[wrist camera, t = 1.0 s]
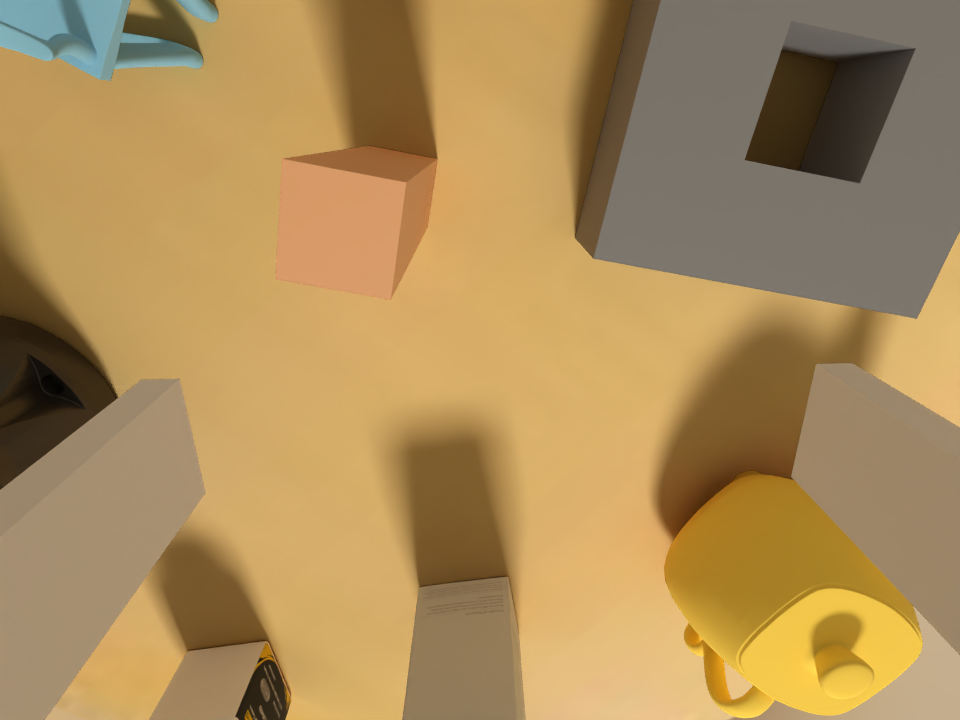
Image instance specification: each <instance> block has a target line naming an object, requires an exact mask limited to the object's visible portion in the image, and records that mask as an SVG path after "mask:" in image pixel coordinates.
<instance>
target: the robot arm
mask: <svg viewBox="0 0 960 720" xmlns="http://www.w3.org/2000/svg"><path fill="white" fill-rule="evenodd" d="M791 477H792V478H793V479H794V480H795V481H796V482H797V483H798V484H799V486H800V487H801V488H802V489H803V490H804V491H805V492H806V493H807V494H808V495H809V496H810V497H811V498H812V499H813V500H814V501H815V502H816V504H817V505H818V506H819V507H820V508H821V509H822V510H823V511H824V512H825V513H826V514H827V515H828V516H829V517H830V518H831V519H832V520H833V521H834V523H835V524H836V525H837V526H838V527H839V528H840V529H841V530H842V531H843V532H844V533H845V534H846V535H847V536H848V537H849V538H850V539H851V541H852V542H853V543H854V544H855V545H856V546H857V547H858V548H859V549H860V550H861V551H862V552H863V553H864V554H865V555H866V556H867V557H868V559H869V560H870V561H871V562H872V563H873V564H874V565H875V566H876V567H877V568H878V569H879V570H880V571H881V572H882V573H883V574H884V575H885V576H886V578H887V579H888V580H889V581H890V582H891V583H892V584H893V585H894V586H895V587H896V588H897V589H898V590H899V591H900V592H901V593H902V594H903V596H904V597H905V598H906V599H907V600H908V601H909V602H910V603H911V604H912V605H913V606H914V607H915V608H916V609H917V610H918V611H919V612H920V614H922V616H923V617H924V618H925V619H926V620H927V621H928V622H929V623H930V624H931V625H932V626H933V627H934V628H935V629H936V630H937V631H938V633H939V634H940V635H941V636H942V637H943V638H944V639H945V640H946V641H947V642H948V643H949V644H950V645H951V646H952V647H953V648H954V649H955V650H956V652H957V653H958V654H959V655H960V427H958V426H956V425H955V424H953V423H951V422H950V421H948V420H946V419H945V418H943V417H941V416H940V415H938V414H936V413H935V412H933V411H931V410H930V409H928V408H926V407H925V406H923V405H921V404H920V403H918V402H916V401H915V400H913V399H911V398H910V397H908V396H906V395H905V394H903V393H901V392H900V391H898V390H896V389H895V388H893V387H891V386H890V385H888V384H886V383H885V382H883V381H881V380H880V379H878V378H876V377H875V376H873V375H871V374H870V373H868V372H866V371H865V370H863V369H861V368H860V367H858V366H856V365H855V364H853V363H834V364H816V366H815V371H814V375H813V380H812V385H811V389H810V394H809V398H808V403H807V407H806V412H805V416H804V421H803V425H802V430H801V434H800V439H799V443H798V448H797V452H796V457H795V461H794V466H793V470H792V475H791ZM204 494H205V488H204V484H203V480H202V475H201V471H200V466H199V462H198V458H197V453H196V449H195V445H194V440H193V436H192V431H191V427H190V423H189V418H188V414H187V409H186V405H185V401H184V396H183V392H182V388H181V383H180V379H153V380H141V381H139V382H138V383H137V384H135V385H134V386H133V387H132V388H130V389H129V390H128V391H126V392H125V393H124V394H123V395H121V396H120V397H119V398H117V399H116V398H115V396H114V394H113V392H112V391H111V389H110V387H109V386H108V384H107V383H106V381H105V380H104V379H103V377H102V376H101V375H100V374H99V372H98V371H97V370H96V369H95V368H94V367H93V366H92V365H91V364H90V363H89V362H88V361H87V360H86V359H85V358H84V357H83V356H82V355H81V354H80V353H78V352H77V351H76V350H75V349H73V348H72V347H71V346H69V345H68V344H66V343H65V342H64V341H62V340H60V339H59V338H57V337H55V336H54V335H52V334H50V333H48V332H46V331H44V330H42V329H40V328H38V327H35V326H33V325H30V324H28V323H25V322H22V321H19V320H15V319H11V318H7V317H2V316H0V720H45V719H46V718H47V716H48V715H49V713H50V712H51V711H52V709H53V708H54V706H55V705H56V704H57V702H58V701H59V699H60V698H61V696H62V695H63V694H64V692H65V691H66V689H67V688H68V687H69V685H70V684H71V682H72V681H73V679H74V678H75V677H76V675H77V674H78V672H79V671H80V670H81V668H82V667H83V665H84V664H85V663H86V661H87V660H88V658H89V657H90V655H91V654H92V653H93V651H94V650H95V648H96V647H97V646H98V644H99V643H100V641H101V640H102V638H103V637H104V636H105V634H106V633H107V631H108V630H109V629H110V627H111V626H112V624H113V623H114V622H115V620H116V619H117V617H118V616H119V614H120V613H121V612H122V610H123V609H124V607H125V606H126V605H127V603H128V602H129V600H130V599H131V597H132V596H133V595H134V593H135V592H136V590H137V589H138V588H139V586H140V585H141V583H142V582H143V581H144V579H145V578H146V576H147V575H148V573H149V572H150V571H151V569H152V568H153V566H154V565H155V564H156V562H157V561H158V559H159V558H160V556H161V555H162V554H163V552H164V551H165V549H166V548H167V547H168V545H169V544H170V542H171V541H172V540H173V538H174V537H175V535H176V534H177V532H178V531H179V530H180V528H181V527H182V525H183V524H184V523H185V521H186V520H187V518H188V517H189V515H190V514H191V513H192V511H193V510H194V508H195V507H196V506H197V504H198V503H199V501H200V500H201V499H202V497H203V496H204Z"/></svg>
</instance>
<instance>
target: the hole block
mask: <svg viewBox="0 0 960 720" xmlns="http://www.w3.org/2000/svg"><path fill="white" fill-rule="evenodd" d="M781 50H783V51H788V52H792V53H797V54H801V55H806V56H811V57H815V58H820V59H824V60H829V61H833V62H838V66H837V69H836V71H835V74H834V77H833V79H832V82H831V85H830V87H829V90H828V93H827V96H826V98H825V101H824V104H823V106H822V109H821V112H820V114H819V117H818V120H817V122H816V125H815V128H814V130H813V133H812V136H811V139H810V141H809V144H808V147H807V149H806V152H805V155H804V157H803V160H802V163H801V165H800V168H799V171H796V170H791V169H786V168H781V167H776V166H771V165H766V164H761V163H756V162H752V161H747V160H745V157H746V154H747V151H748V148H749V145H750V142H751V139H752V136H753V133H754V130H755V127H756V124H757V121H758V118H759V116H760V113H761V110H762V107H763V104H764V101H765V98H766V95H767V92H768V89H769V86H770V83H771V80H772V77H773V74H774V71H775V68H776V65H777V62H778V59H779V56H780V53H781ZM959 232H960V0H633V4H632V8H631V12H630V16H629V20H628V24H627V28H626V32H625V36H624V40H623V44H622V48H621V53H620V57H619V61H618V65H617V69H616V73H615V77H614V81H613V85H612V89H611V93H610V97H609V102H608V106H607V110H606V114H605V118H604V122H603V126H602V130H601V134H600V138H599V142H598V146H597V150H596V155H595V159H594V163H593V167H592V171H591V175H590V179H589V183H588V187H587V191H586V195H585V199H584V204H583V208H582V212H581V216H580V220H579V224H578V228H577V232H576V236H575V239H576V240H577V241H578V242H579V243H580V244H581V245H582V246H583V248H584V249H585V250H586V251H587V252H588V253H589V254H590V255H591V256H592V257H593V259H599V260H604V261H609V262H615V263H620V264H626V265H631V266H636V267H642V268H647V269H653V270H658V271H663V272H669V273H674V274H679V275H685V276H690V277H696V278H701V279H706V280H712V281H717V282H722V283H728V284H733V285H739V286H744V287H749V288H755V289H760V290H766V291H771V292H776V293H782V294H787V295H792V296H798V297H803V298H809V299H814V300H819V301H825V302H830V303H835V304H841V305H846V306H852V307H857V308H862V309H868V310H873V311H878V312H884V313H889V314H895V315H900V316H905V317H911V318H916V319H917V317H918V315H919V313H920V311H921V309H922V307H923V305H924V303H925V301H926V299H927V297H928V295H929V293H930V291H931V289H932V287H933V285H934V283H935V281H936V279H937V276H938V274H939V272H940V270H941V268H942V266H943V264H944V262H945V260H946V258H947V256H948V254H949V252H950V250H951V248H952V246H953V244H954V242H955V240H956V238H957V236H958V234H959Z"/></svg>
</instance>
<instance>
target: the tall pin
mask: <svg viewBox="0 0 960 720" xmlns="http://www.w3.org/2000/svg"><path fill="white" fill-rule="evenodd" d="M437 160H438V159H435V158H430V157H425V156H420V155H415V154H409V153H404V152H399V151H394V150H389V149H384V148H379V147H374V146H364V147H357V148H350V149H344V150H337V151H331V152H324V153H317V154H311V155H304V156H298V157H291V158H284V159H282V170H281V189H280V207H279V226H278V244H277V263H276V280H282V281H287V282H293V283H299V284H304V285H310V286H316V287H322V288H327V289H333V290H339V291H344V292H350V293H356V294H361V295H367V296H373V297H378V298H384V299H390V300H391V298H392V296H393V294H394V292H395V290H396V288H397V286H398V284H399V283H400V281H401V279H402V277H403V275H404V273H405V271H406V269H407V267H408V265H409V263H410V261H411V259H412V257H413V255H414V253H415V251H416V249H417V247H418V245H419V243H420V241H421V239H422V237H423V235H424V233H425V231H426V229H427V227H428V220H429V213H430V207H431V200H432V193H433V187H434V180H435V173H436V166H437Z"/></svg>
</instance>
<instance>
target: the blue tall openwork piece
mask: <svg viewBox="0 0 960 720" xmlns="http://www.w3.org/2000/svg"><path fill="white" fill-rule="evenodd" d="M177 1H178V2H179V3H180V4H181V5H182V6H183V7H184V8H185V9H186V10H187V11H188V12H189V13H191V14H192V15H194V16H196V17H198V18H200V19H202V20H205V21H207V22H215V21H216V20H217V19H218V11H217V9H216V8H215V6H214V5H213V4H212V3H210V2H209V1H208V0H177ZM129 4H130V0H0V46H1V47H4V48H8V49H12V50H15V51H18V52H21V53H24V54H27V55H30V56H33V57H36V58H38V59H41V60H45V61H50V60H54V59H57V58H60V59H62V60H64V61H66V62H67V63H69V64H71V65H73V66H75V67H77V68H79V69H81V70H83V71H84V72H86V73H88V74H90V75H92V76H94V77H96V78H98V79H100V80H108V81H111V78H112V74H113V70H114V69H119V68H133V67H157V66H188V67H191V68H197V69H198V68H200V67H201V66H202V65H203V58H202V56H201V55H200V53H199V52H197V51H196V50H194V49H192V48H190V47H187V46H184V45H181V44H179V43H176V42H172V41H168V40H163V39H159V38H154V37H148V36H142V35H137V34H130V33H123V27H124V22H125V19H126V15H127V11H128V8H129Z"/></svg>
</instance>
